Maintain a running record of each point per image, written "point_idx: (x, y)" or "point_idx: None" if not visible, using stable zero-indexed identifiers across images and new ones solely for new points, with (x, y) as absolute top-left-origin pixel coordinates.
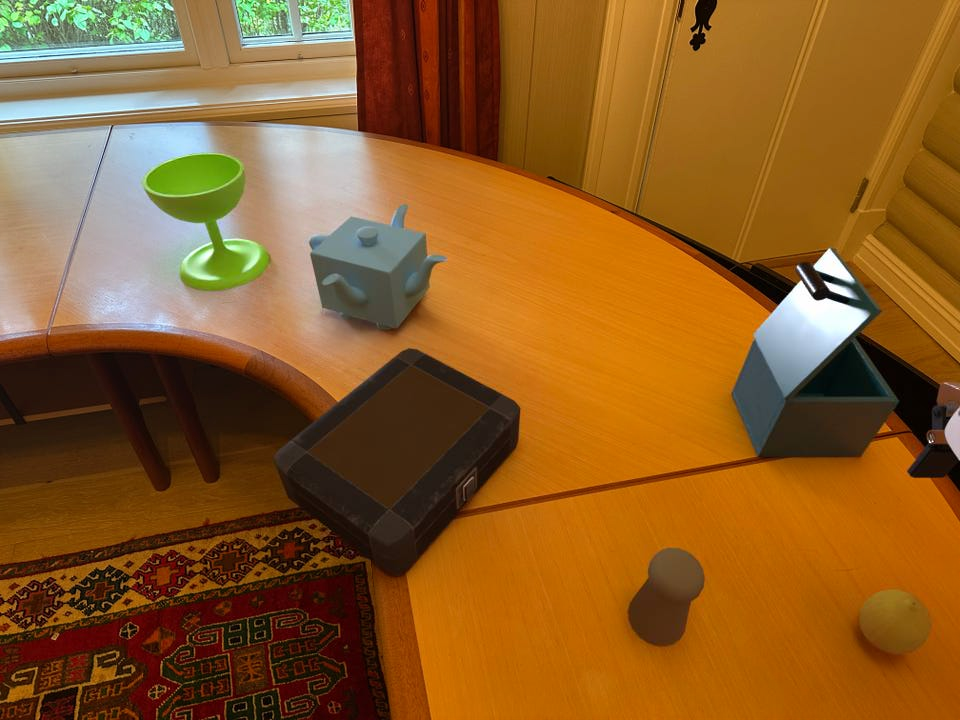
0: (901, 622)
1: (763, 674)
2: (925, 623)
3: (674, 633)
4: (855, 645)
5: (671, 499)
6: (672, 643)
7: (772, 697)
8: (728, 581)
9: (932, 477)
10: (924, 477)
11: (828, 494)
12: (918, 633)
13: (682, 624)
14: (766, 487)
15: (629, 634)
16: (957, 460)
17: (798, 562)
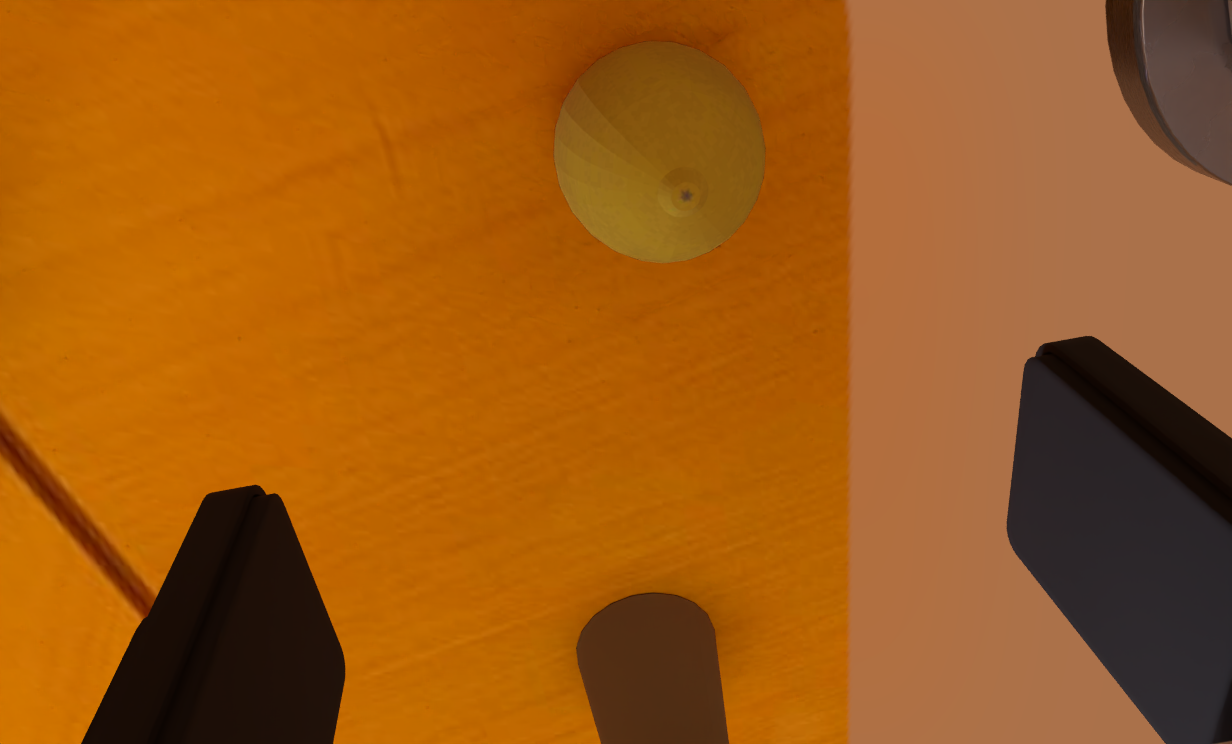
0: (732, 222)
1: (765, 441)
2: (734, 138)
3: (715, 660)
4: None
5: None
6: (709, 621)
7: (818, 428)
8: (515, 498)
9: (301, 555)
10: (319, 599)
11: (16, 126)
12: (761, 161)
13: (707, 669)
14: (88, 359)
15: None
16: (216, 659)
17: (399, 302)
